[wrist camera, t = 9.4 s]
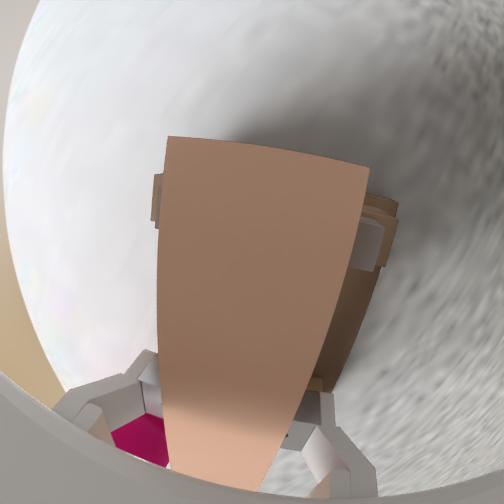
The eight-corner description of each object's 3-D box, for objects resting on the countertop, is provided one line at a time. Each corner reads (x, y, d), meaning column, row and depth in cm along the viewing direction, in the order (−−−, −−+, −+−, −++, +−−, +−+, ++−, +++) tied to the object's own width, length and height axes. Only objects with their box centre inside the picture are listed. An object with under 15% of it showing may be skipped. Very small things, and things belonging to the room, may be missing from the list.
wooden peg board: (392, 200, 13) (438, 222, 8) (324, 394, 18) (326, 455, 13) (174, 159, 15) (116, 162, 9) (165, 358, 19) (131, 409, 14)
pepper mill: (120, 371, 21) (-2, 539, 2) (194, 411, 21) (106, 606, 2) (114, 408, 23) (24, 543, 5) (175, 442, 23) (105, 590, 5)
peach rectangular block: (339, 166, 9) (370, 167, 5) (258, 453, 14) (247, 507, 10) (220, 145, 9) (168, 136, 5) (194, 438, 14) (174, 488, 10)
